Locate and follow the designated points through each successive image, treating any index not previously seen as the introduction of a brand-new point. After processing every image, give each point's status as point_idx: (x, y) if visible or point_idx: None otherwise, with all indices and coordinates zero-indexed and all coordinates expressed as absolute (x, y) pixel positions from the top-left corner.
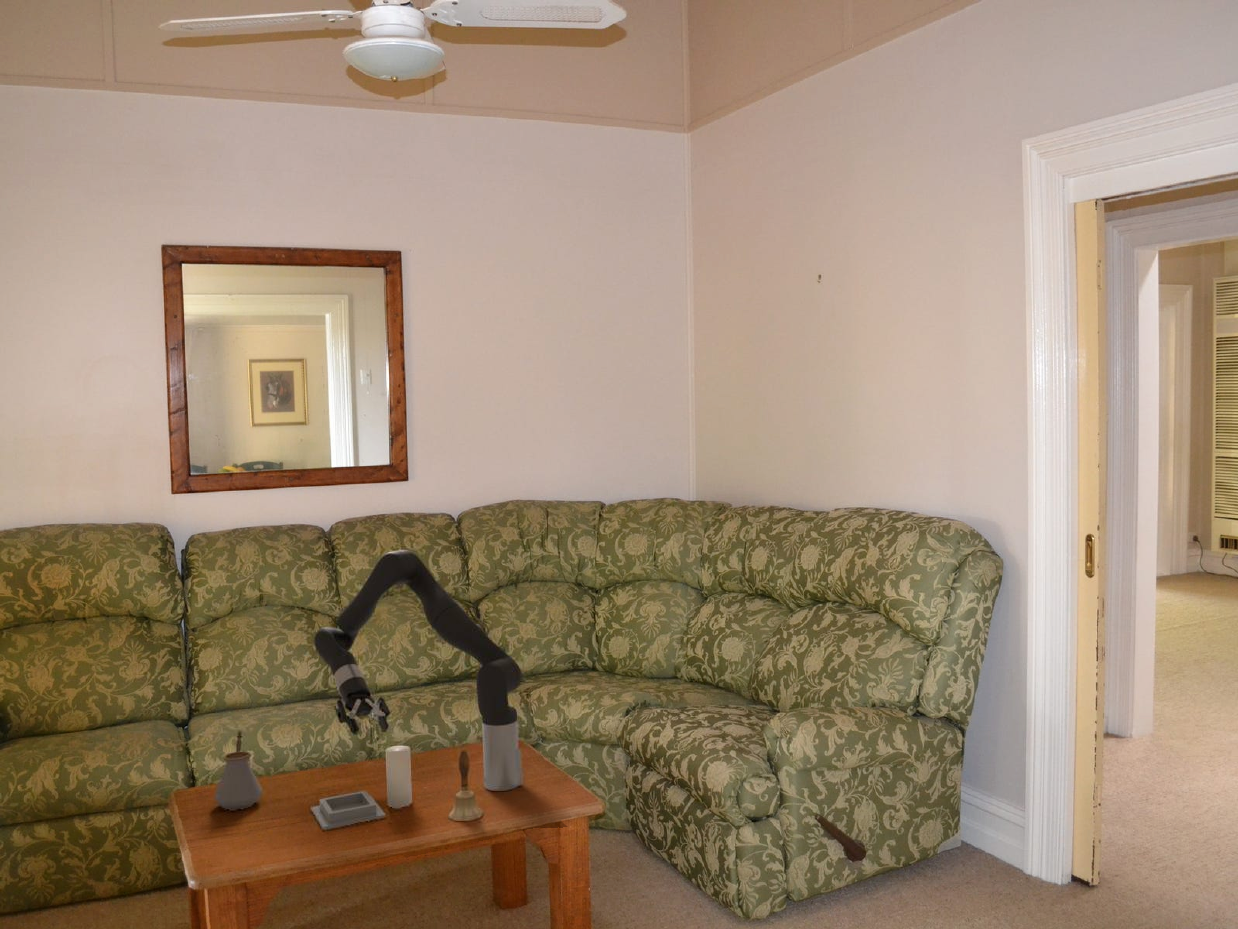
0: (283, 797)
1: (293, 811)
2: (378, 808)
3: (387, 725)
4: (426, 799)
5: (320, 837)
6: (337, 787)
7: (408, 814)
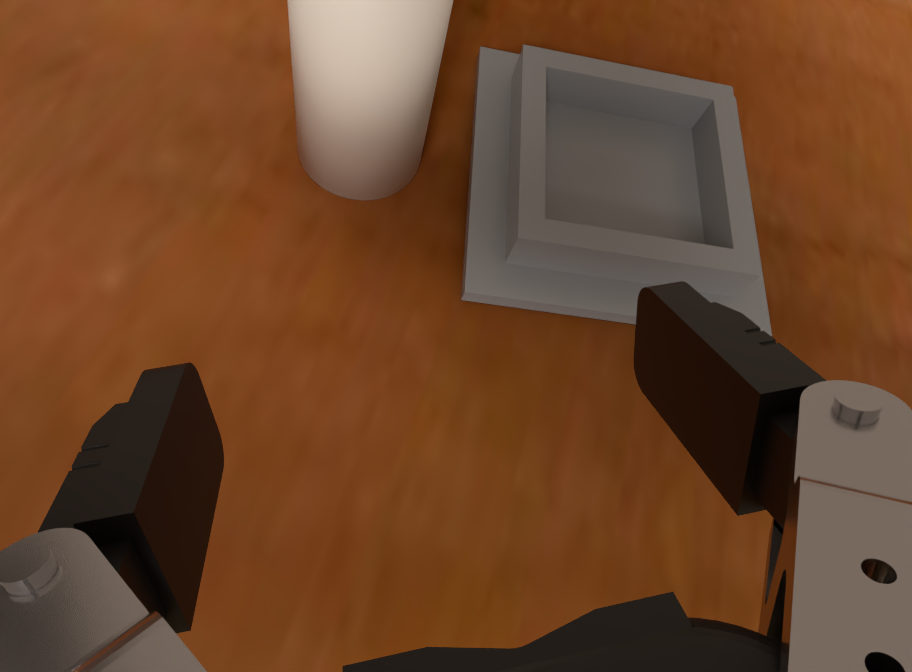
0: None
1: None
2: (485, 121)
3: (117, 417)
4: (217, 120)
5: (741, 64)
6: None
7: None
